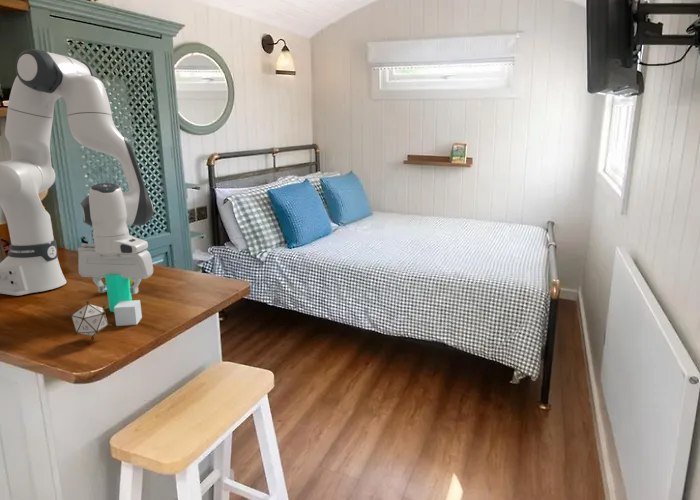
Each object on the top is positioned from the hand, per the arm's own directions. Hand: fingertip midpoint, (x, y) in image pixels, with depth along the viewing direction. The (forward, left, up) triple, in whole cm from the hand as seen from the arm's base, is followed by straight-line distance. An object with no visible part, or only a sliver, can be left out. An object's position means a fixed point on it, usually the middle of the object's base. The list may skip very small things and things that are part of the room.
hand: (118, 292), depth 137 cm
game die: (+6, -21, -5) cm, 22 cm away
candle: (0, 0, -5) cm, 5 cm away
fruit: (-8, +15, -5) cm, 18 cm away
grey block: (+8, -9, -5) cm, 13 cm away
